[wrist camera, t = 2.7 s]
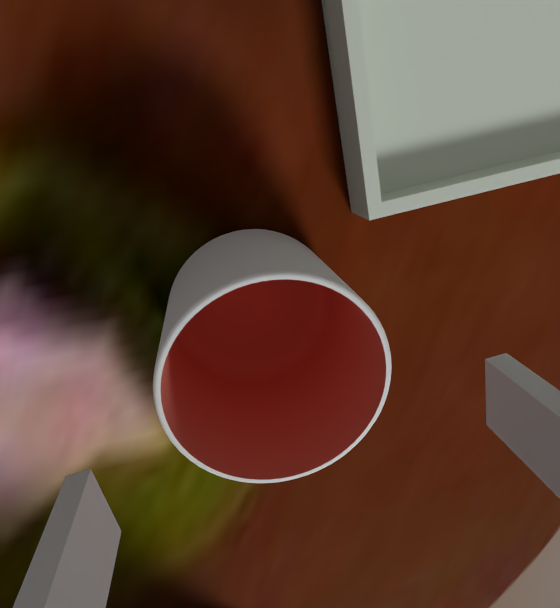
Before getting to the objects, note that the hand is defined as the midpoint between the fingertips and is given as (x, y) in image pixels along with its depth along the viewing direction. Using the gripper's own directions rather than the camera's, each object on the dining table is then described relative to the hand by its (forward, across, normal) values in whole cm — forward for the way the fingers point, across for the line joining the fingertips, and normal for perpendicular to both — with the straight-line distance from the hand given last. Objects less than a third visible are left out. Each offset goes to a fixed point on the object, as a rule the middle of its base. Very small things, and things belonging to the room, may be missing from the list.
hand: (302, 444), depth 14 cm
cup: (+14, 0, 0) cm, 14 cm away
